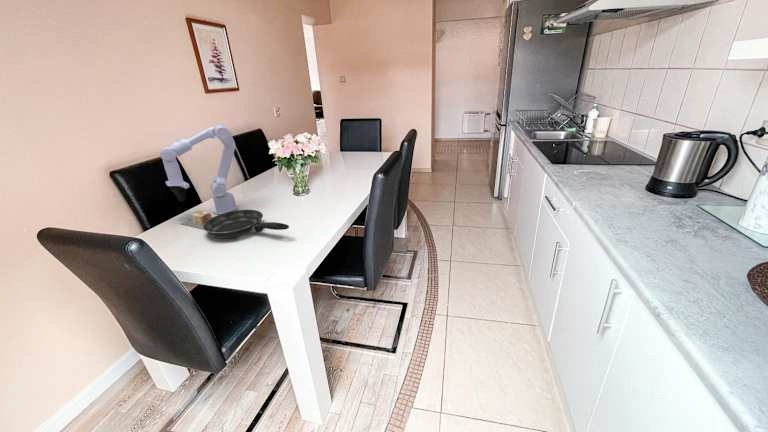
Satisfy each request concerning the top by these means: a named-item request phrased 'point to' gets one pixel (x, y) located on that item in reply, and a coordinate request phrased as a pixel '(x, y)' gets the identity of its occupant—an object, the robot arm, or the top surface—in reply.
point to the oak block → (200, 217)
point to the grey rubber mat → (192, 224)
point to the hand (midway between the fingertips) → (182, 200)
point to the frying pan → (239, 224)
